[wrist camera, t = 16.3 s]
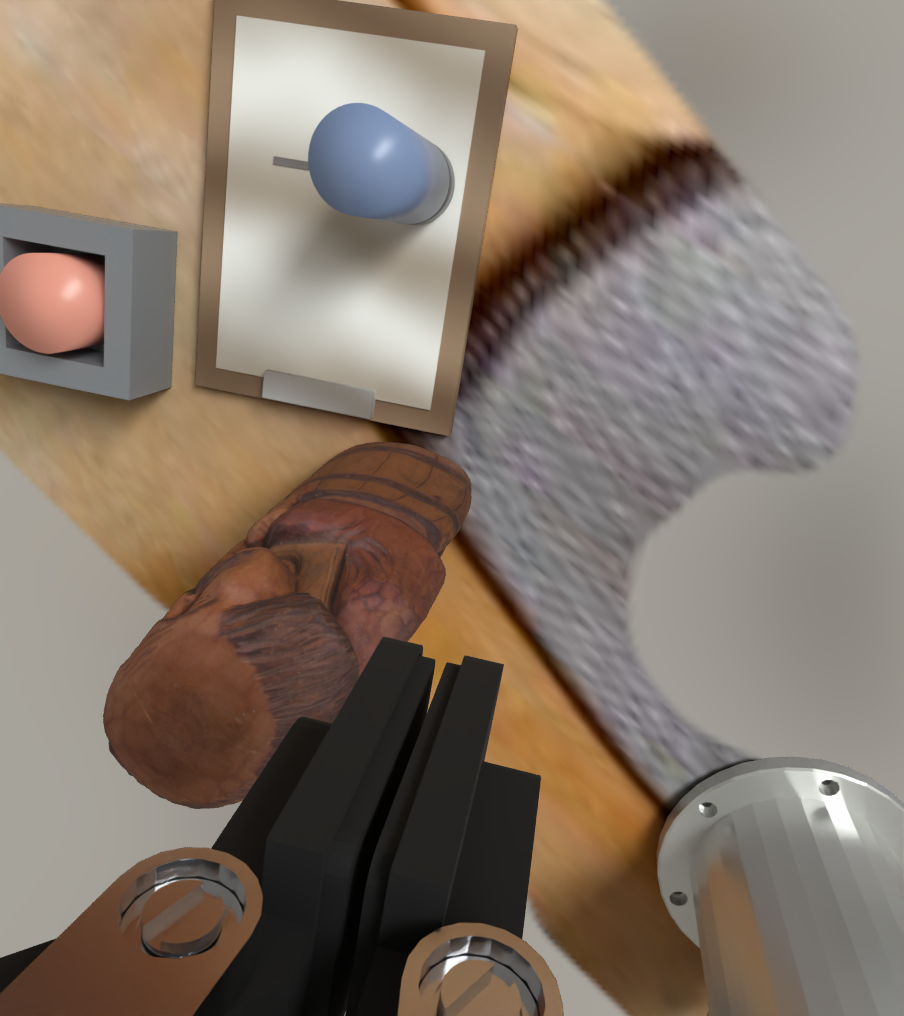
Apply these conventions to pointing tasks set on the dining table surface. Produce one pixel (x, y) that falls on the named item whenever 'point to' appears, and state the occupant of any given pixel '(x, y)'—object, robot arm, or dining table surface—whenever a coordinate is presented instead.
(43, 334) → the button
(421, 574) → the wooden figurine
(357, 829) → the robot arm
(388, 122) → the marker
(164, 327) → the button housing
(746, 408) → the dining table surface
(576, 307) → the dining table surface
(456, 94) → the clipboard
